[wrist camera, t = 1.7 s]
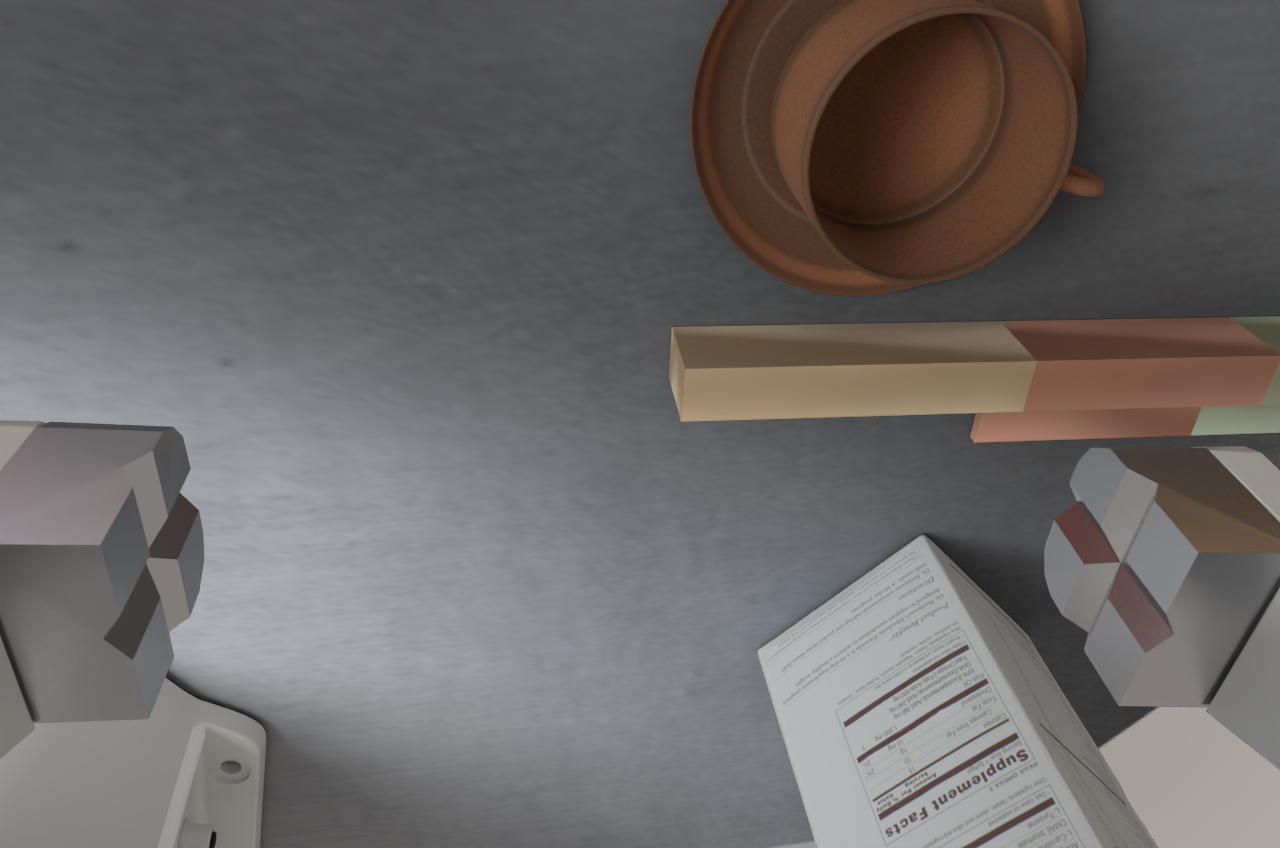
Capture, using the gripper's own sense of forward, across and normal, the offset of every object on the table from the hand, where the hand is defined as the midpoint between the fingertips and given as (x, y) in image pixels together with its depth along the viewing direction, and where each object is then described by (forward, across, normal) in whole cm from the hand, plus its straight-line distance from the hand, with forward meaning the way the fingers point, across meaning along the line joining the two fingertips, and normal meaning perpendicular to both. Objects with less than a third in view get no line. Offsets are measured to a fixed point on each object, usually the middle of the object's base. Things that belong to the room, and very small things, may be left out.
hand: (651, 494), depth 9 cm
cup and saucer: (+24, +10, -2) cm, 26 cm away
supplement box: (+23, +16, -26) cm, 38 cm away
